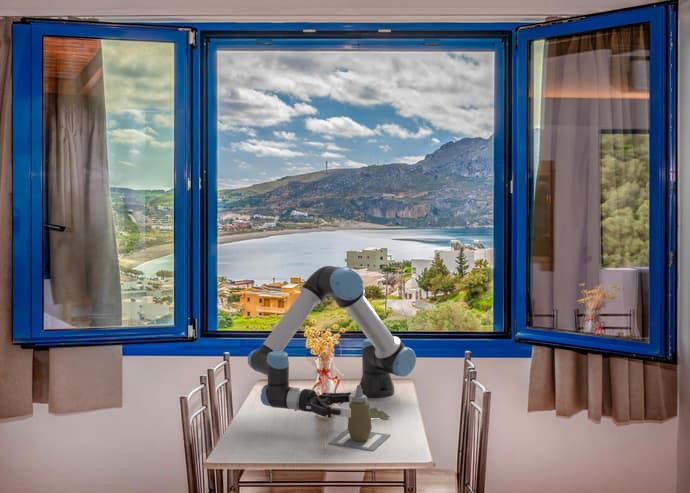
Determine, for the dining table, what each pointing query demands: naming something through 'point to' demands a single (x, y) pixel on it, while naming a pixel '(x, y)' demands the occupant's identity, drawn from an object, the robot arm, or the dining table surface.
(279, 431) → the dining table surface
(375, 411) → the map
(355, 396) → the squeeze bottle
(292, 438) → the dining table surface
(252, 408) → the dining table surface
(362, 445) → the pad
